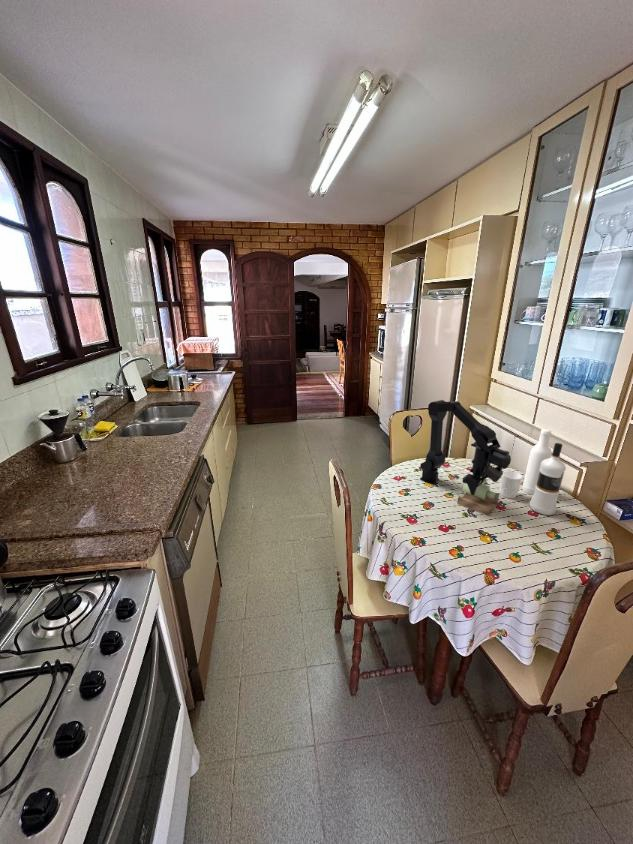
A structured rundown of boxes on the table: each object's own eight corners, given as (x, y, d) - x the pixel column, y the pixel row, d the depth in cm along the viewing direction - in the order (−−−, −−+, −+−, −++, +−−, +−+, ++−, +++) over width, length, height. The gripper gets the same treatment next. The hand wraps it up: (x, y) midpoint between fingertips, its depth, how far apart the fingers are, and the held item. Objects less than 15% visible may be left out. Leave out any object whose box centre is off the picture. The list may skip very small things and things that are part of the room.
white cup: (516, 501, 151) (520, 481, 147) (496, 495, 155) (500, 475, 152) (519, 493, 157) (523, 474, 153) (500, 488, 161) (504, 469, 158)
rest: (457, 503, 149) (458, 497, 148) (466, 494, 156) (467, 488, 155) (488, 515, 140) (489, 509, 139) (497, 505, 148) (498, 499, 147)
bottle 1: (461, 493, 149) (463, 481, 147) (467, 488, 153) (469, 476, 151) (494, 506, 140) (496, 493, 138) (499, 500, 144) (501, 487, 142)
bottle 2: (545, 495, 155) (561, 433, 145) (527, 495, 155) (542, 433, 145) (535, 486, 163) (550, 426, 153) (518, 486, 163) (532, 426, 153)
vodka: (535, 501, 151) (551, 437, 141) (559, 511, 144) (577, 445, 134) (524, 507, 146) (540, 442, 136) (548, 518, 139) (566, 450, 129)
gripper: (494, 473, 131) (487, 508, 136) (509, 457, 143) (502, 490, 149) (464, 463, 138) (459, 497, 143) (481, 450, 150) (476, 481, 156)
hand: (475, 492), depth 147 cm, fingers closed on bottle 1, 6 cm apart
